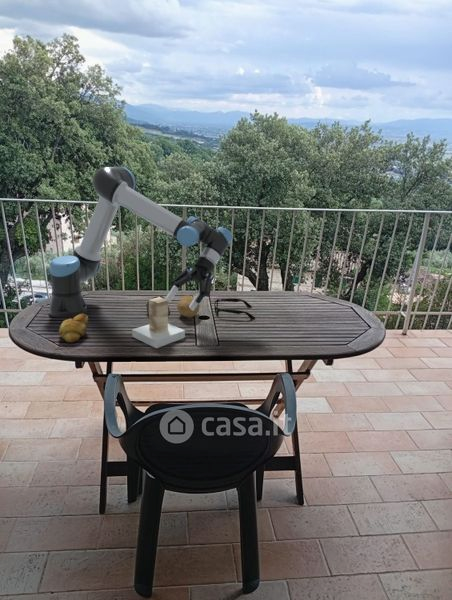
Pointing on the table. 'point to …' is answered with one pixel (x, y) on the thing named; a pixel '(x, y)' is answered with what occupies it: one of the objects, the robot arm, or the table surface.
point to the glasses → (233, 310)
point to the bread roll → (74, 328)
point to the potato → (187, 307)
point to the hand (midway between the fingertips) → (179, 304)
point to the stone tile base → (158, 335)
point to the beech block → (158, 315)
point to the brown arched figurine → (152, 298)
